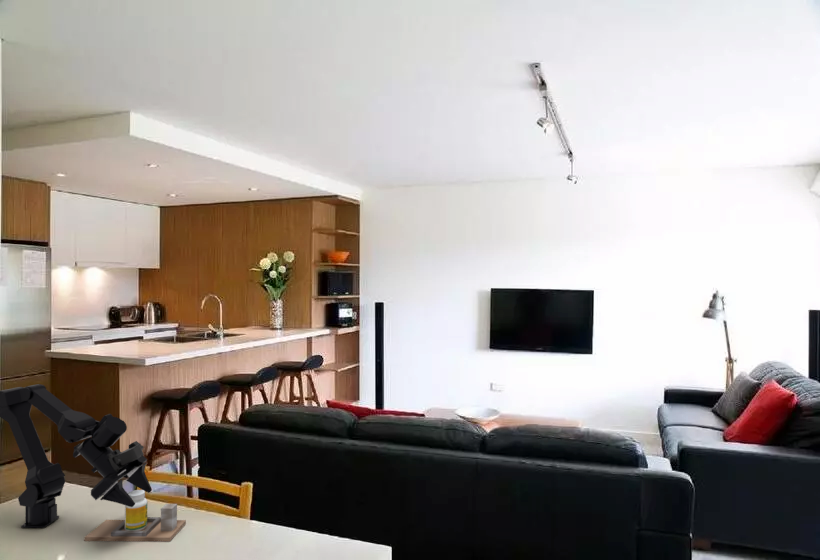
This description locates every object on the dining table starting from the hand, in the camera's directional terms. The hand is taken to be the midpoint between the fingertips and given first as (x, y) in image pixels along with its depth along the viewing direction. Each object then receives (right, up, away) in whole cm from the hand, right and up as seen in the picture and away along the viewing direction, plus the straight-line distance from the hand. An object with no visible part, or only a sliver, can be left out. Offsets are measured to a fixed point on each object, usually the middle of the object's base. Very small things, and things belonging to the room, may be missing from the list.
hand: (142, 498), depth 143 cm
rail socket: (-1, -9, 0) cm, 9 cm away
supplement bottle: (-2, -8, 0) cm, 8 cm away
